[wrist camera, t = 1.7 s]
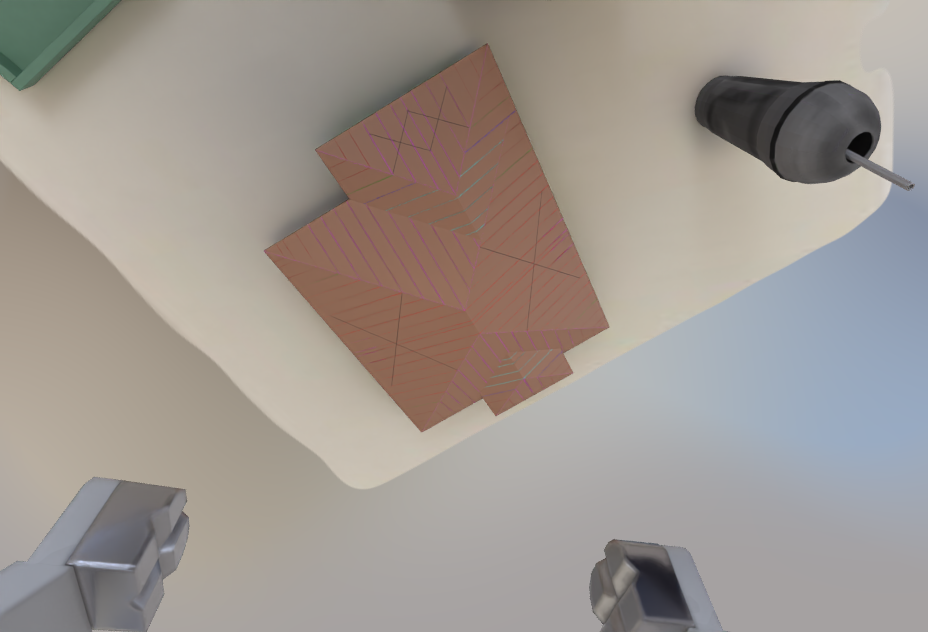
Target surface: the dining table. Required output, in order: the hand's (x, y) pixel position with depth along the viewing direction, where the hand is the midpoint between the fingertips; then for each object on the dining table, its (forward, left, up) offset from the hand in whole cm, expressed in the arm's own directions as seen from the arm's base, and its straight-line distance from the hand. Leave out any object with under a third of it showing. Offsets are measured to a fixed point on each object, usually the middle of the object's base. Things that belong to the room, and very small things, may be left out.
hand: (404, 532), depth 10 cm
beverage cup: (+20, +27, -38) cm, 51 cm away
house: (+17, -2, -38) cm, 42 cm away
